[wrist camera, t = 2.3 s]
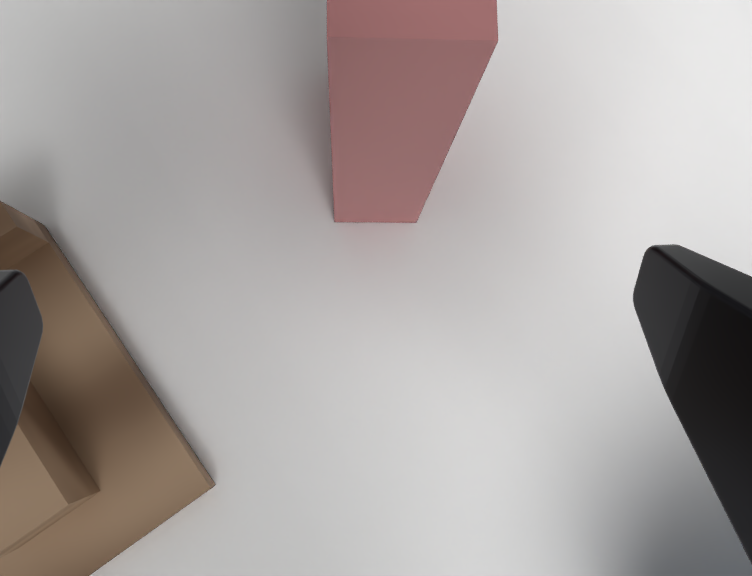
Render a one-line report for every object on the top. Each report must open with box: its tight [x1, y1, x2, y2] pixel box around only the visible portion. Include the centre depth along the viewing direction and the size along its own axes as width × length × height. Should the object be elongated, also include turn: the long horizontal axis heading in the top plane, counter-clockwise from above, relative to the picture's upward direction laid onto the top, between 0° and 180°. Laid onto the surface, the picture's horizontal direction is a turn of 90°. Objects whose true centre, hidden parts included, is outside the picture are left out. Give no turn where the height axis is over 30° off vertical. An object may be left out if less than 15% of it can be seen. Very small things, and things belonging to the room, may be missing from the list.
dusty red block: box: [327, 0, 498, 223], centre depth 18 cm, size 6×3×12 cm, turn 0°
